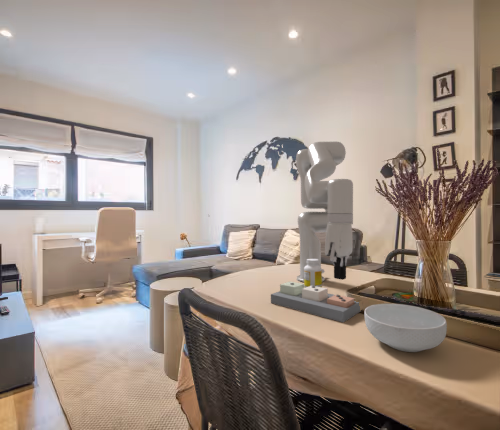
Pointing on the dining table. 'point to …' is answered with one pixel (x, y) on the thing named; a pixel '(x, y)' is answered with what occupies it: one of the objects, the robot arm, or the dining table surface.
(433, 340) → the cereal bowl
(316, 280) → the supplement bottle
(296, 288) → the knob block
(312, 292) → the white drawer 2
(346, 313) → the grey flat board
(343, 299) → the pink block
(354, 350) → the dining table surface
